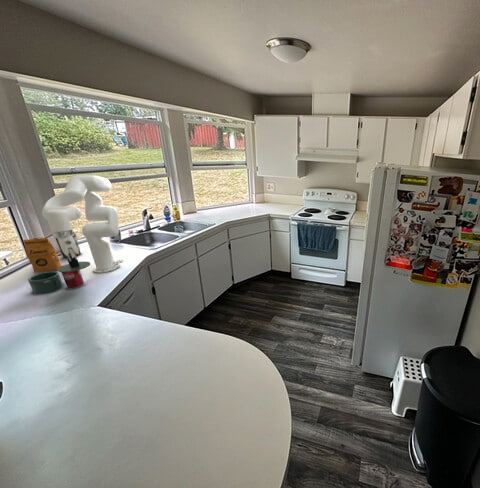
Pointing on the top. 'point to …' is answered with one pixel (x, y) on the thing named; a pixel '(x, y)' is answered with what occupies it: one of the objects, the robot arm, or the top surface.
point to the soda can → (73, 279)
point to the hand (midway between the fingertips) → (74, 265)
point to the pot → (45, 282)
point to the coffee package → (42, 255)
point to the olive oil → (75, 243)
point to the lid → (68, 267)
